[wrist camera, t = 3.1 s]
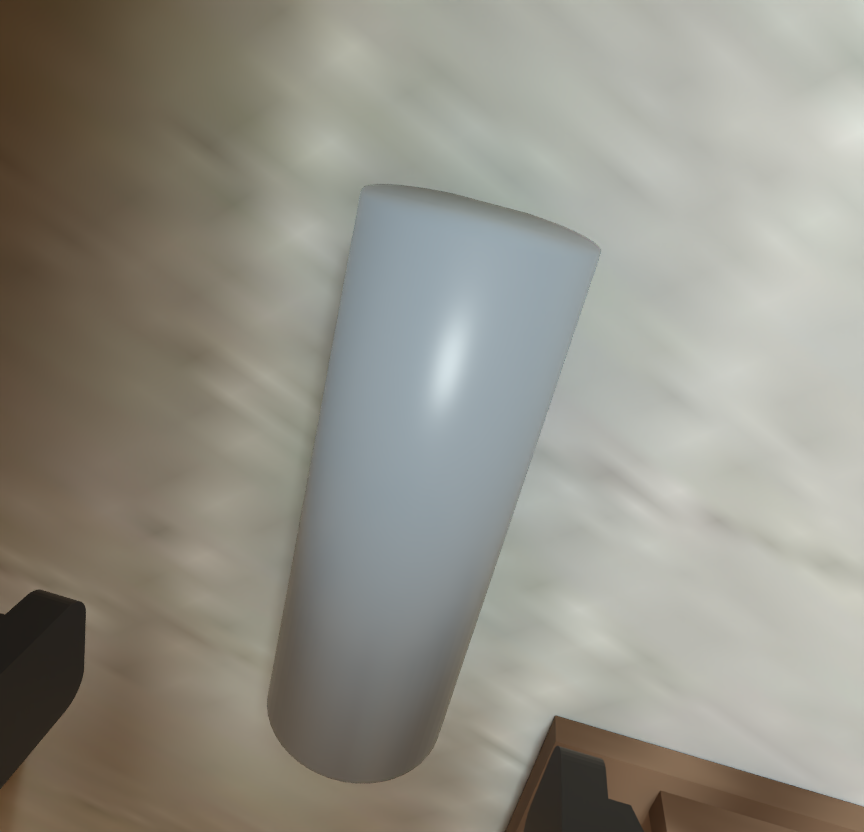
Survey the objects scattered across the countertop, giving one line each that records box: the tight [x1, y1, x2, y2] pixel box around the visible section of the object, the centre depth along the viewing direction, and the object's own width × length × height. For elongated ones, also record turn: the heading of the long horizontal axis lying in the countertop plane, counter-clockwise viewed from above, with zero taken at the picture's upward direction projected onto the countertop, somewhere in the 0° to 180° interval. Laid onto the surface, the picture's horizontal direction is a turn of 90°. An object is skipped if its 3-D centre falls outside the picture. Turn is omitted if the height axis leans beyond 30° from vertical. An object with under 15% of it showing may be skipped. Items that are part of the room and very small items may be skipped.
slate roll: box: [267, 184, 601, 783], centre depth 17 cm, size 14×5×5 cm, turn 166°
